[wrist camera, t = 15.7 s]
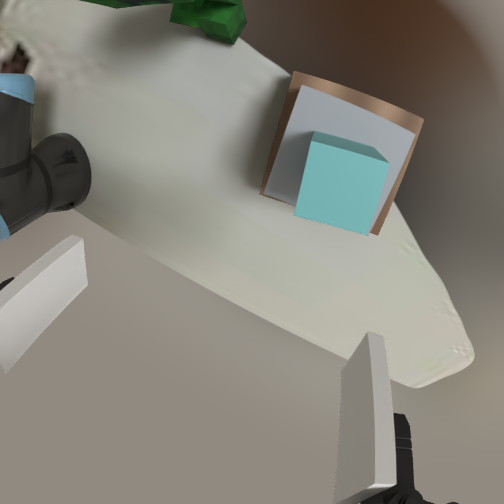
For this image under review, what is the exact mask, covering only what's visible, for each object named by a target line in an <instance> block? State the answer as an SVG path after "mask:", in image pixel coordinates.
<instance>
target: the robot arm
mask: <svg viewBox="0 0 504 504" xmlns="http://www.w3.org/2000/svg"><path fill="white" fill-rule="evenodd" d="M34 89H35V81H34V79H33V77H32V76H30V75H28V74H0V242H1V241H3V240H5V239H8V238H9V237H10V236H11V235H12V234H14V233H15V232H17V231H18V230H20V229H21V228H23V227H25V226H26V225H28V224H29V223H31V222H33V221H34V220H35V219H37V218H39V217H41V216H42V215H44V214H46V213H50V212H57V211H66V210H70V209H72V208H74V207H76V206H78V205H79V204H81V203H82V202H83V201H84V200H85V198H86V197H87V195H88V192H89V189H90V184H91V170H90V164H89V160H88V157H87V155H86V152H85V150H84V148H83V147H82V145H81V144H80V143H79V141H78V140H77V139H75V138H74V137H73V136H71V135H69V134H66V133H58V134H55V135H51V136H49V137H47V138H45V139H44V140H43V141H42V142H40V143H39V144H38V145H37V146H36V147H34V148H33V149H32V150H31V135H32V118H33V106H34V105H35V101H34ZM87 285H88V283H87V274H86V265H85V254H84V242H83V238H80V237H77V236H75V235H72V234H71V235H70V236H69V237H67V238H66V239H64V240H63V241H62V242H60V243H59V244H58V245H57V246H55V247H54V248H52V249H51V250H50V251H48V252H47V253H46V254H45V255H43V256H42V257H41V258H39V259H38V260H37V261H36V262H34V263H33V264H32V265H31V266H29V267H28V268H27V269H26V270H24V271H23V272H22V273H21V274H20V275H18V276H17V277H16V278H14V277H12V278H10V279H8V280H5V281H3V282H2V283H1V284H0V369H1V370H2V371H3V372H5V373H7V372H8V371H9V370H10V369H11V367H12V366H13V365H14V364H15V362H16V361H17V360H18V359H19V358H20V357H21V356H22V354H23V353H24V352H25V351H26V350H27V349H28V347H29V346H30V345H31V344H32V343H33V342H34V341H35V340H36V338H37V337H38V336H39V335H40V334H41V333H42V332H43V331H44V330H45V329H46V328H47V327H48V325H49V324H50V323H51V322H52V321H53V320H54V319H55V318H56V317H57V316H58V315H59V314H60V313H61V312H62V311H63V310H64V308H65V307H66V306H67V305H68V304H69V303H70V302H71V301H72V300H73V299H74V298H75V297H76V296H77V295H78V294H79V293H80V292H81V291H82V290H83V289H84V288H85V287H86V286H87ZM340 404H341V405H340V406H341V407H340V428H339V444H338V458H337V459H338V460H337V471H336V482H335V491H334V501H333V504H358V503H361V504H434V503H431V502H427V501H425V500H423V497H422V495H421V494H420V493H419V492H418V491H417V490H415V487H414V475H413V457H412V450H411V448H412V443H411V441H410V439H411V433H410V425H409V423H408V421H407V419H406V417H405V415H404V414H397V413H393V406H392V396H391V387H390V378H389V370H388V363H387V356H386V349H385V342H384V336H383V335H380V334H376V333H372V332H369V331H368V332H367V333H366V335H365V336H364V338H363V339H362V341H361V343H360V344H359V346H358V347H357V349H356V350H355V352H354V353H353V355H352V356H351V358H350V359H349V361H348V362H347V364H346V365H345V366H344V368H343V369H342V371H341V403H340ZM447 504H458V503H456V502H451V503H447Z"/></svg>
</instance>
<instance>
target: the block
mask: <svg viewBox="0 0 504 504" xmlns="http://www.w3.org/2000/svg"><path fill="white" fill-rule="evenodd" d="M389 165H390V163H389V162H388V161H387V160H386V159H385V158H384V157H383V156H382V155H381V154H380V153H379V152H378V151H377V150H376V149H375V148H374V147H371V146H368V145H365V144H362V143H358V142H355V141H351V140H348V139H344V138H341V137H337V136H333V135H330V134H326V133H322V132H318V131H314V134H313V137H312V140H311V144H310V148H309V153H308V157H307V161H306V166H305V170H304V174H303V179H302V183H301V187H300V191H299V195H298V200H297V204H296V208H295V212H294V216H298V217H301V218H305V219H309V220H313V221H317V222H320V223H324V224H328V225H331V226H335V227H339V228H342V229H346V230H349V231H353V232H357V233H360V234H364V235H367V233H368V230H369V228H370V225H371V222H372V219H373V216H374V213H375V210H376V207H377V204H378V201H379V198H380V195H381V192H382V188H383V185H384V182H385V179H386V175H387V172H388V169H389Z"/></svg>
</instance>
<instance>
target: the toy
mask: <svg viewBox="0 0 504 504" xmlns="http://www.w3.org/2000/svg"><path fill="white" fill-rule="evenodd" d="M81 1H86V2H90V3H95V4H100V5H104V6H108V7H112V8H116V9H118V8H125V7H132V6H141V5H151V4H165V3H174V5H173V9H172V13H171V18H170V22H173V23H178V24H183V25H187V26H191V27H195V28H198V27H201V28H202V30H203V31H204V33H205V35H206V36H207V37H209V38H212V39H216V40H219V41H222V42H226V43H229V44H232V45H234V43H235V42H236V40H237V38H238V37H239V35H240V33H241V31H242V30H243V28H244V27H245V25H246V23H247V21H246V17H245V13H244V10H243V6H242V2H241V0H81Z"/></svg>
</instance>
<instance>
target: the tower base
mask: <svg viewBox="0 0 504 504" xmlns="http://www.w3.org/2000/svg"><path fill="white" fill-rule="evenodd" d="M301 85H304V86H307V87H310V88H313V89H315V90H318V91H321V92H323V93H326V94H329V95H331V96H334V97H336V98H339V99H341V100H344V101H346V102H349V103H351V104H353V105H356V106H358V107H360V108H363V109H365V110H367V111H369V112H371V113H374V114H376V115H378V116H380V117H382V118H384V119H386V120H388V121H390V122H392V123H394V124H396V125H398V126H400V127H402V128H404V129H406V130H408V131H410V132H412V133H414V134H416V135H415V137H414V140H413V142H412V144H411V147H410V149H409V151H408V154H407V156H406V158H405V161H404V163H403V165H402V167H401V169H400V172H399V174H398V176H397V178H396V180H395V183H394V185H393V187H392V189H391V191H390V193H389V195H388V197H387V199H386V201H385V203H384V206H383V208H382V210H381V212H380V214H379V216H378V218H377V220H376V222H375V223H374V225H373V227H372V229H371V231H370V233H372V234H375V235H378V234H379V232H380V229H381V227H382V225H383V223H384V221H385V218H386V216H387V214H388V212H389V209H390V207H391V205H392V202H393V200H394V197H395V195H396V193H397V190H398V188H399V185H400V183H401V181H402V178H403V175H404V173H405V170H406V168H407V165H408V162H409V160H410V157H411V155H412V152H413V149H414V146H415V144H416V141H417V138H418V135H419V133H420V129H421V127H422V124H423V121H424V119H422V118H420V117H418V116H416V115H414V114H412V113H410V112H408V111H405V110H403V109H401V108H398V107H396V106H394V105H392V104H389V103H387V102H385V101H382V100H380V99H377V98H375V97H372V96H370V95H367V94H364V93H362V92H359V91H356V90H353V89H351V88H348V87H345V86H342V85H339V84H336V83H333V82H330V81H327V80H324V79H321V78H317V77H314V76H310V75H307V74H303V73H300V72H297V71H294V72H293V76H292V79H291V83H290V86H289V90H288V93H287V97H286V100H285V104H284V107H283V111H282V114H281V118H280V122H279V125H278V129H277V132H276V136H275V139H274V143H273V147H272V150H271V154H270V157H269V161H268V165H267V168H266V172H265V175H264V179H263V183H262V186H261V190H260V193H259V194H260V195H263V196H266V197H269V198H272V199H275V200H278V201H281V202H284V201H282V200H279V199H277V198H274V197H271V196H269V195H266V194H263V193H264V190H265V188H266V185H267V182H268V179H269V176H270V173H271V170H272V168H273V165H274V162H275V159H276V156H277V153H278V150H279V148H280V145H281V142H282V139H283V136H284V133H285V130H286V128H287V125H288V122H289V119H290V116H291V113H292V111H293V108H294V105H295V102H296V99H297V97H298V94H299V91H300V88H301ZM284 203H287V202H284ZM288 204H289V203H288ZM291 205H292V204H291ZM294 206H295V205H294Z"/></svg>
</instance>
